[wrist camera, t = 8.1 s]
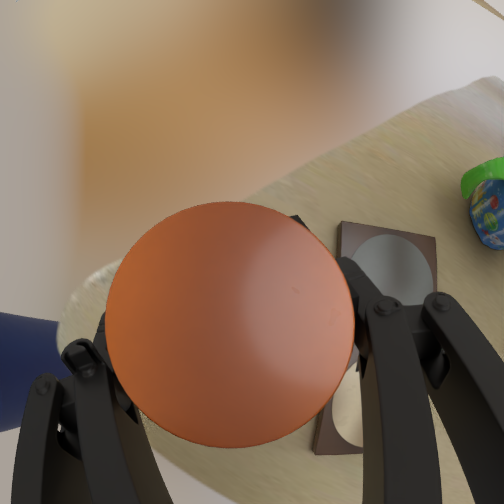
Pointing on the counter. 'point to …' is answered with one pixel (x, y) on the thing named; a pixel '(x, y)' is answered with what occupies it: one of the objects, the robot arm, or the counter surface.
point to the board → (390, 284)
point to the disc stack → (229, 324)
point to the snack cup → (487, 201)
